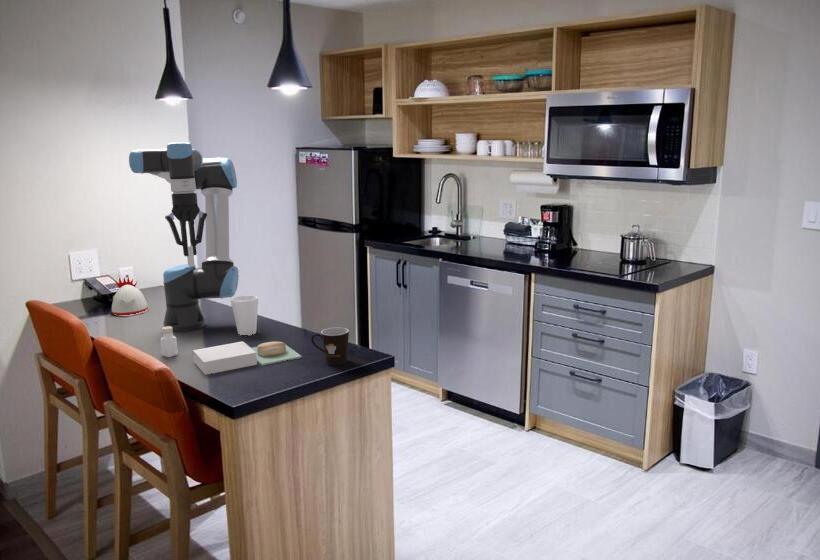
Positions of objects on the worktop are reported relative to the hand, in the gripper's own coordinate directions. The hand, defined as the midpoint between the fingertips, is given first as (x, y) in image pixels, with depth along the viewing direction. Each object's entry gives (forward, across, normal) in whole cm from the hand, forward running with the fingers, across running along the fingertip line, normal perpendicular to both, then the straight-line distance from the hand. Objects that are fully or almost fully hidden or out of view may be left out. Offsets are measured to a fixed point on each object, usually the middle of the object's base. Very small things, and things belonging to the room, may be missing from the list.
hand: (191, 265), depth 219 cm
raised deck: (+29, +4, -16) cm, 34 cm away
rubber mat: (+29, +20, -16) cm, 39 cm away
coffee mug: (+30, +33, -34) cm, 56 cm away
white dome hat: (+30, -11, +73) cm, 80 cm away
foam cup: (+30, +20, +13) cm, 38 cm away
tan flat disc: (+29, +19, -16) cm, 38 cm away
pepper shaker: (+30, -9, +3) cm, 31 cm away
